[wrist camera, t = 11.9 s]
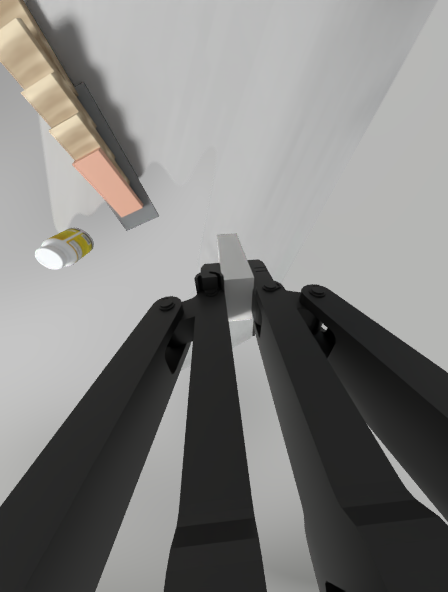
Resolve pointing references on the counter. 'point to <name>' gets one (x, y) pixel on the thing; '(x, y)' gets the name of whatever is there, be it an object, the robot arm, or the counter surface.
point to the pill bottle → (64, 248)
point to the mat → (118, 162)
